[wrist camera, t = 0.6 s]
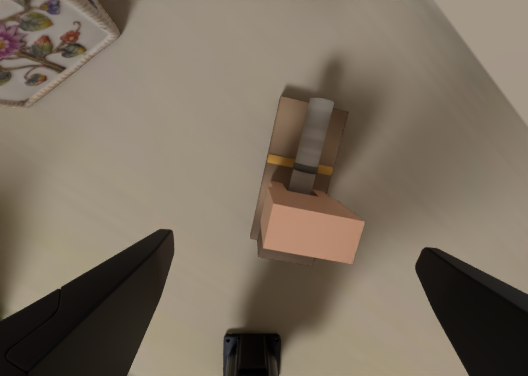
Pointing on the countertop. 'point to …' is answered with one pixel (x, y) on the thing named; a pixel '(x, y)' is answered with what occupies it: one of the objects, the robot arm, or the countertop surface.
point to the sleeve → (309, 225)
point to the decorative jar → (47, 44)
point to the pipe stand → (300, 157)
